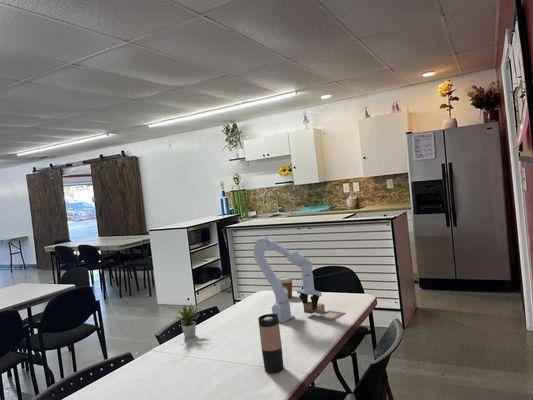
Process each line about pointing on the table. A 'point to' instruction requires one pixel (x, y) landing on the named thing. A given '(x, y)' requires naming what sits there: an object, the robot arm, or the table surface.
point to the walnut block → (309, 308)
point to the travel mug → (271, 343)
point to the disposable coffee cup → (287, 284)
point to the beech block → (320, 308)
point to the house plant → (188, 321)
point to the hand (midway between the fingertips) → (310, 308)
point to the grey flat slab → (330, 315)
